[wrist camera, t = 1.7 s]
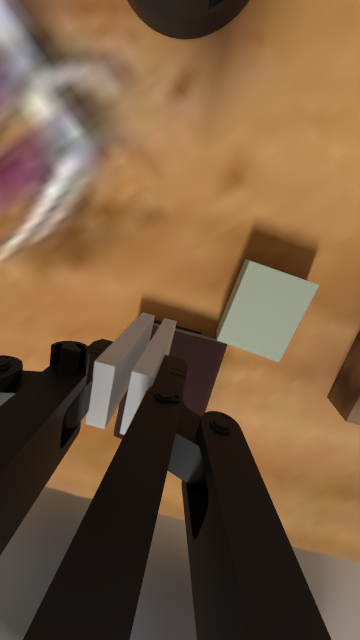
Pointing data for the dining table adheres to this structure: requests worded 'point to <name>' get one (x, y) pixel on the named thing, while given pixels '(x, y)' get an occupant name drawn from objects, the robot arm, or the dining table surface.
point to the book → (190, 368)
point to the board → (348, 386)
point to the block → (264, 310)
